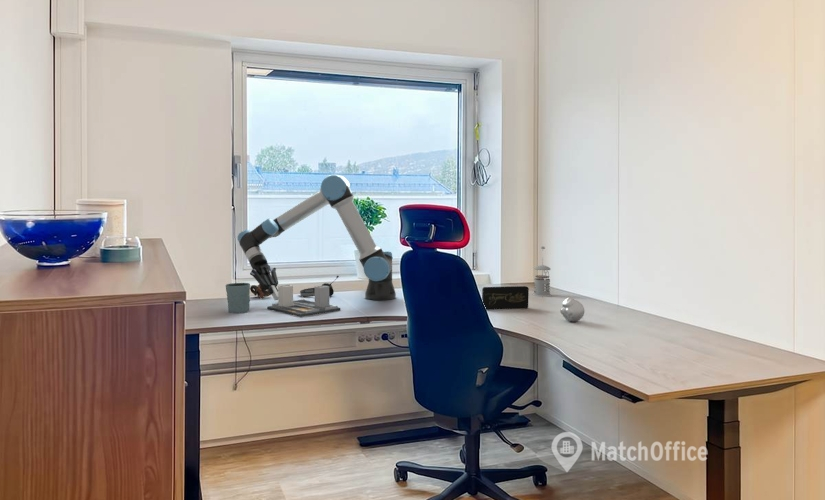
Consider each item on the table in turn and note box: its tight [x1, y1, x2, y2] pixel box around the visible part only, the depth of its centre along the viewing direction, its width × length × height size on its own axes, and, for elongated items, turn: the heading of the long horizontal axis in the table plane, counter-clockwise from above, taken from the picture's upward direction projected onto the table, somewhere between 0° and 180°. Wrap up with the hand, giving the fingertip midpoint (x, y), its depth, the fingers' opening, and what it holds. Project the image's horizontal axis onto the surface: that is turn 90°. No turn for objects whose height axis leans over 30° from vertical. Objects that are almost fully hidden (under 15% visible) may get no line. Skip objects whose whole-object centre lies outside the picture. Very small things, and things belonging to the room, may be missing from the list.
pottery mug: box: [250, 283, 272, 300], centre depth 295 cm, size 12×10×8 cm
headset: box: [299, 275, 340, 298], centre depth 302 cm, size 14×10×20 cm
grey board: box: [266, 298, 341, 318], centre depth 262 cm, size 25×21×2 cm
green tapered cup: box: [225, 282, 251, 314], centre depth 257 cm, size 10×10×12 cm
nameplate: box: [481, 285, 530, 311], centre depth 266 cm, size 21×2×10 cm, turn 100°
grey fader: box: [314, 285, 330, 308], centre depth 262 cm, size 4×5×9 cm
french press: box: [532, 245, 552, 298], centre depth 305 cm, size 10×12×25 cm
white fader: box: [277, 284, 294, 307], centre depth 263 cm, size 4×5×9 cm
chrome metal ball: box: [560, 296, 585, 323], centre depth 238 cm, size 9×10×10 cm
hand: (277, 298), depth 268 cm, fingers closed
